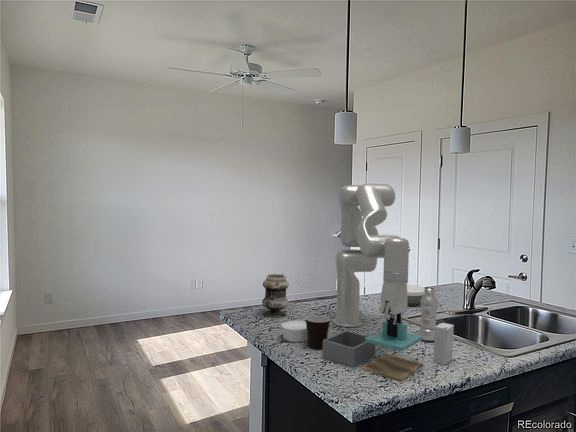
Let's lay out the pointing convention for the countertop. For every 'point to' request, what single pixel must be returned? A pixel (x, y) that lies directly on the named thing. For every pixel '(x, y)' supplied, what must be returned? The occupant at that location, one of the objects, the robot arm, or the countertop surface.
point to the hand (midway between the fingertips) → (394, 334)
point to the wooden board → (393, 367)
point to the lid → (398, 343)
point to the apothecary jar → (275, 295)
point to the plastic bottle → (428, 314)
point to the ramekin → (294, 331)
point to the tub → (348, 349)
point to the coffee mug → (317, 331)
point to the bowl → (414, 294)
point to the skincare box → (443, 343)
